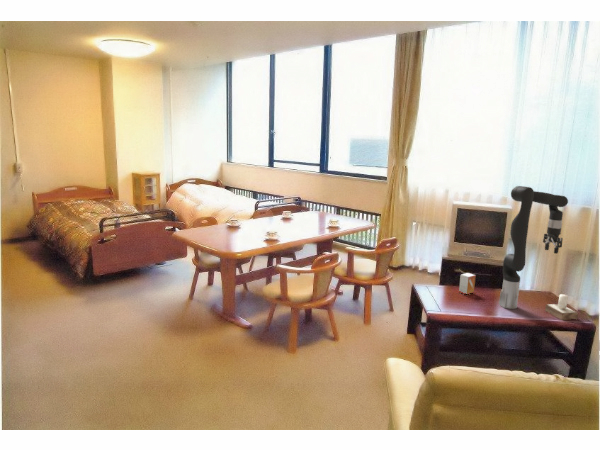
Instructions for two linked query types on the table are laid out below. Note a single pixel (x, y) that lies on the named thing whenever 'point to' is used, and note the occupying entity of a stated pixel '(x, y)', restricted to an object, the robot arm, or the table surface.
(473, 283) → the small box
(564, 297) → the canister
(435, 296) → the table surface
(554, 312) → the dock
